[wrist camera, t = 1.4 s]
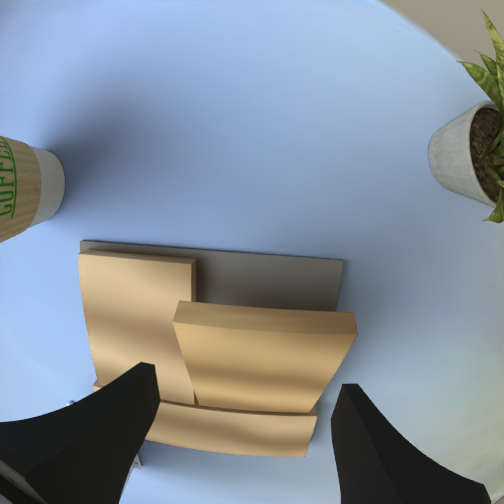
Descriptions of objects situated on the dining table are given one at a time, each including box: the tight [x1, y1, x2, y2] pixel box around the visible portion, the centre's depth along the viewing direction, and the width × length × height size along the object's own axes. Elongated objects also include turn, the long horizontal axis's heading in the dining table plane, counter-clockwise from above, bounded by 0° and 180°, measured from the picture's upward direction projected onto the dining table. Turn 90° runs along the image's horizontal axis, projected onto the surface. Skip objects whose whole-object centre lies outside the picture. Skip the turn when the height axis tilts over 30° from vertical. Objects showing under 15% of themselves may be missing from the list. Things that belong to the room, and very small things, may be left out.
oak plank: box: [173, 300, 358, 412], centre depth 18 cm, size 12×9×1 cm
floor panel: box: [78, 240, 344, 457], centre depth 22 cm, size 19×20×2 cm
